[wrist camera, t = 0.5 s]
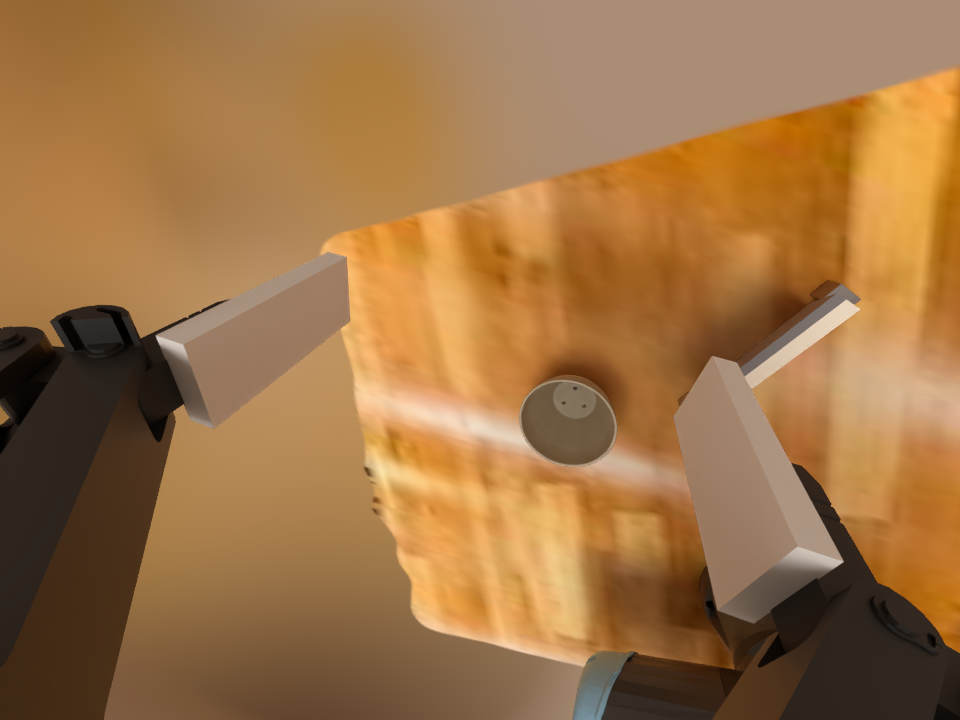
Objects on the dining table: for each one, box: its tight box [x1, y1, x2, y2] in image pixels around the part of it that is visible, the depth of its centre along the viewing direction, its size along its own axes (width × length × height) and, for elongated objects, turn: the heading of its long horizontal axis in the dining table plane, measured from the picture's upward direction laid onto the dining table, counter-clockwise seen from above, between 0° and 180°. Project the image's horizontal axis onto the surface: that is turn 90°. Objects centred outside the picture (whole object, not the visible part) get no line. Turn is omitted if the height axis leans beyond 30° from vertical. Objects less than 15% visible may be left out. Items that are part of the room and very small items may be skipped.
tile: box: [736, 293, 861, 389], centre depth 30 cm, size 12×12×2 cm
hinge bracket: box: [678, 280, 861, 406], centre depth 36 cm, size 2×17×2 cm, turn 144°
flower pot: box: [519, 375, 617, 467], centre depth 42 cm, size 10×10×7 cm
